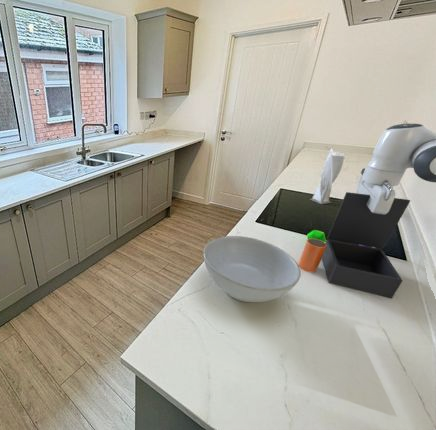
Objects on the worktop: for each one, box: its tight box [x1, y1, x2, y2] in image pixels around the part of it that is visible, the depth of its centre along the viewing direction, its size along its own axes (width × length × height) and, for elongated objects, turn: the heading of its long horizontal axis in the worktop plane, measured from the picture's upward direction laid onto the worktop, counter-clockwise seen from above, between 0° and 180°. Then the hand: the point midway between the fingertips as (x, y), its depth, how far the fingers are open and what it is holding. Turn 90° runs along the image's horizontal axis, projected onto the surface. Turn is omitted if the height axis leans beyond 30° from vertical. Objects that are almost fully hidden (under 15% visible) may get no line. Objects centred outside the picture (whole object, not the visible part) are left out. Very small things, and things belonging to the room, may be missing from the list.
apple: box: [306, 229, 327, 243], centre depth 107 cm, size 7×6×9 cm
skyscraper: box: [309, 147, 346, 205], centre depth 138 cm, size 8×8×28 cm
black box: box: [321, 238, 403, 299], centre depth 88 cm, size 18×16×8 cm
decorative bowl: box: [203, 235, 302, 303], centre depth 83 cm, size 27×27×12 cm
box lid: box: [326, 191, 411, 250], centre depth 89 cm, size 18×16×1 cm
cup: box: [297, 238, 327, 273], centre depth 91 cm, size 6×6×11 cm
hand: (364, 214), depth 90 cm, fingers closed
